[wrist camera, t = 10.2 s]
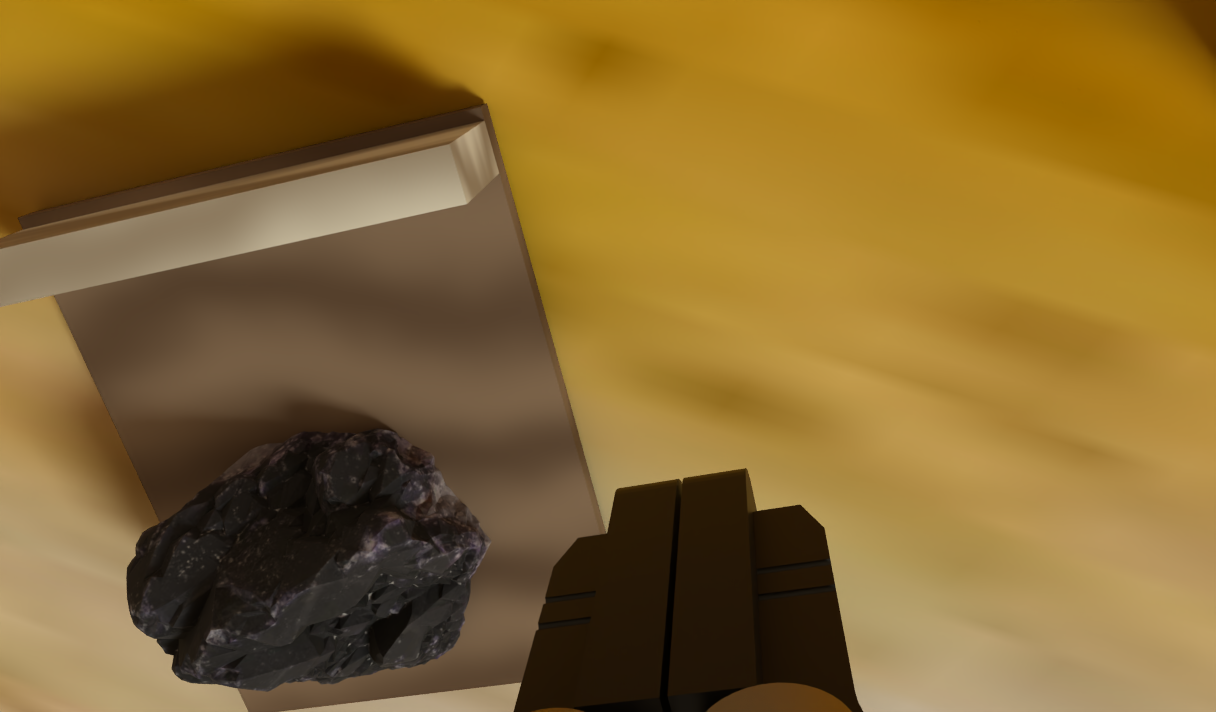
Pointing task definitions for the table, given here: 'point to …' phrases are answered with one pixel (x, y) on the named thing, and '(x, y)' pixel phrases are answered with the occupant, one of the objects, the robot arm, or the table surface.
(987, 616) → the table surface
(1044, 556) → the table surface
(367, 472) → the black rock
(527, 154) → the table surface
